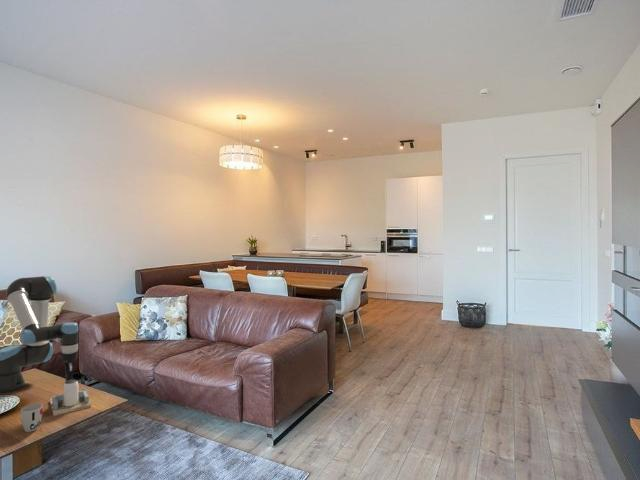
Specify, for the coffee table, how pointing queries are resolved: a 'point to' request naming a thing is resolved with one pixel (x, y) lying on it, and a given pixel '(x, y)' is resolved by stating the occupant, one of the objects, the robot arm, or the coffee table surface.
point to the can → (70, 393)
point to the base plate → (63, 409)
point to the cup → (31, 416)
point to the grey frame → (61, 397)
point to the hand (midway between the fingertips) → (69, 395)
